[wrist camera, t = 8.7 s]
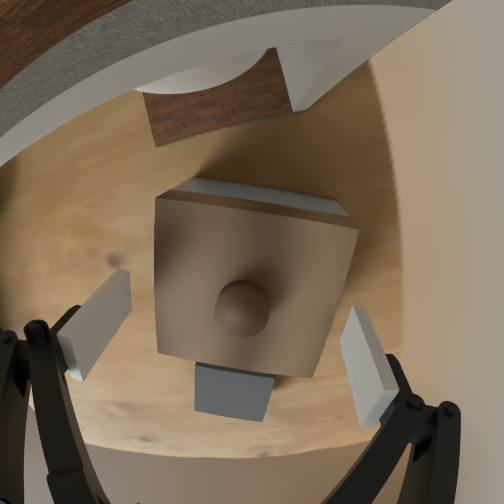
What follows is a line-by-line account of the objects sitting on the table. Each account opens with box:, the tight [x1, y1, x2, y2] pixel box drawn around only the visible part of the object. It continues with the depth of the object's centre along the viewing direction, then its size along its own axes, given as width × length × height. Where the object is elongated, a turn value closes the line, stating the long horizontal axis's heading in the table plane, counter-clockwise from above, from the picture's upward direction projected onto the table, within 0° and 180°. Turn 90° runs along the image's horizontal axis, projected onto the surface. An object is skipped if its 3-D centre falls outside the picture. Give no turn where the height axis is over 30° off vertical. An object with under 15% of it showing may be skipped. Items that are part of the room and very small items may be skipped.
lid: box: [154, 189, 360, 378], centre depth 18 cm, size 11×11×4 cm
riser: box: [195, 361, 275, 422], centre depth 27 cm, size 7×7×4 cm
